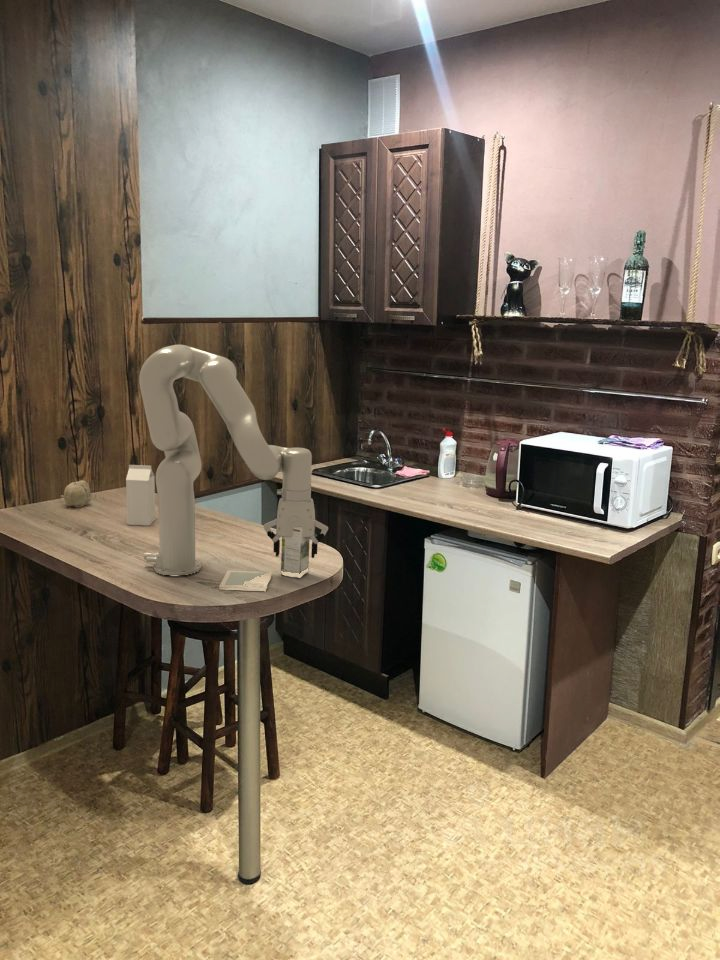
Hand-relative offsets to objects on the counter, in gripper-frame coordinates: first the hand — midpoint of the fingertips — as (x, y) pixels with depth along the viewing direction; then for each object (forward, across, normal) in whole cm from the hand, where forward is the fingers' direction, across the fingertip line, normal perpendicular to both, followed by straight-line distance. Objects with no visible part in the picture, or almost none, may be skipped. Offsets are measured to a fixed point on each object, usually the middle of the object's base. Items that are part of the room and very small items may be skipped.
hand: (295, 555), depth 215 cm
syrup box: (+6, 0, 0) cm, 6 cm away
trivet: (+5, -12, -8) cm, 15 cm away
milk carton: (+6, -54, +42) cm, 69 cm away
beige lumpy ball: (+6, -81, +58) cm, 100 cm away
